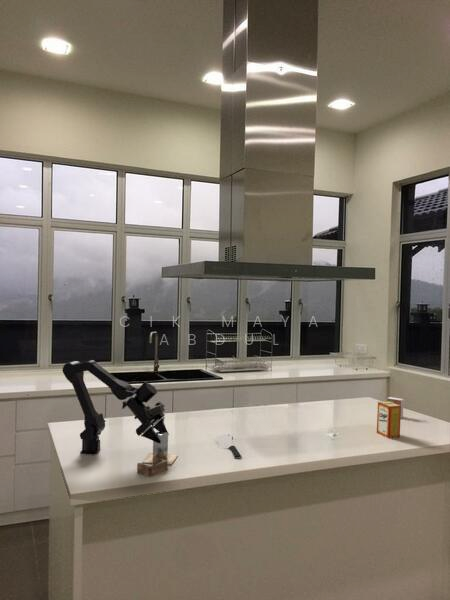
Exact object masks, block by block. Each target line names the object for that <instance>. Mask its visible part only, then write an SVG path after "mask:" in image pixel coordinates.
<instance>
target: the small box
mask: <svg viewBox="0 0 450 600" xmlns="http://www.w3.org/2000/svg"><path fill="white" fill-rule="evenodd" d="M387 401H389V402H393V403H395V404H397V405H400V406H401V419H402V418H403V417H404V405H405V403H404V401H405V400H404V398H399V397H393V396H389V397H387V399H386V402H387Z"/></svg>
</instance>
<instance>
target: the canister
mask: <svg viewBox="0 0 450 600" xmlns="http://www.w3.org/2000/svg"><path fill="white" fill-rule="evenodd" d="M155 433H156V434H157V436H158V437H159V439H160V441H161V442H160V443H157V442H155V441H152V453H153V457H157V458H160V459H164V460H167V458H168V454H169V452H168V451H169V450H168V449H169V448H168V447H169V435H168V434H169V432H168V433H166V432H159V431H155Z"/></svg>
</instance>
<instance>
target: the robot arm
mask: <svg viewBox="0 0 450 600" xmlns="http://www.w3.org/2000/svg"><path fill="white" fill-rule="evenodd" d="M61 370H62V373H63V375H64V377H65V379H66V380H67V381H68V383H70V384H71V385H72V388H73V390H74V393H75V395H76V398H77V400H78V402H79V406H80V408H81V410H82V414H83V416H84V421H83V425H84V430H83V431H81V432H80V433H79V437H80V439H81V442H82V443H81V444H82V445H81V450H80V454H90V455H95V454H97V453H98V452H99V451H100V450H101V439H100V435H101V434H102V432H103V431H104V430H105V428H106V419H105V418H104V415H103V413H102V412H100V413H99V412H97V411H96V409H95V406H94V404H93V401H92V399H91V396H90V393H89V390H88V389H87V385H86V384H85V380H84V378H85V377H84V376H85V375H84V374H85V372H89V373H90V374H92V375H93V376H94V377H95V378H96V379H98V380H99V381H101V382H102V383H103V384H104V385H106V386H107V387H108V388H109V389H110V391H111V393H112V394H113V395H114V397H115V398H116V399H118V400H119V401H123V402H122V406H121V408H122V410H124V409H126V408H128V409H129V410H130V412H131V413H132V414H133V415H134V417H133V418H134V419H135V420H138V421H139V423H141V424H140V425H139V426H138V427H137V428H136V429H135V433H136V434H137V436H138V437H143V438H146V439H148V440H151V441H152V442H153V441H155V442H157V443H160V442H161V441H160V439H159V437H158V436H157V434H156V431H157V432H166V433H168V436H170V435H169V431H168V430H167V427H166V425H165V414H166V413H164V412H166V411H165V405H164V404H163V402H161V401H159V402H157V403H155V405H154V406H153V407H151V406H149V405H147V406H146V405H145V403H149V401H151V400H152V398H154V397H155V395H157V394H158V390H157V389H156V387H155V386H154V385H152V384H151V383H149V382H147V381H144V382H143V383H142V384H141V385H140V386H139V387H135V386H133V385H131V384H130V383H128V382H127V381H125V380H121V379H118V378H117V377H115V376H114V375H113V374H111V373H110V372H109V371H107V370H106V369H105V368H104V367H102V366H101V365H100V364H99V363H97V362H96V361H95V360H94V359H93V360H92V359H90V360H88V361H87V360H86V361H81V362H80V361H77V360H74V361H69V362H67V363H65V364H64V365H63V367H62V369H61ZM133 396H134V397H133ZM155 430H156V431H155Z"/></svg>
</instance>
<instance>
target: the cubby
mask: <svg viewBox="0 0 450 600" xmlns="http://www.w3.org/2000/svg"><path fill="white" fill-rule="evenodd" d="M165 471H168V465H167V460H164V459H160V458H157V457H153V464H151V465H148V464H146V463H142V462H138V463H137V464H136V473H137V474H140V475H142V476H143V475H144V476H146V477H149V478H151V477H153V476H156V475H159V474H160V473H162V472H165Z"/></svg>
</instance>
